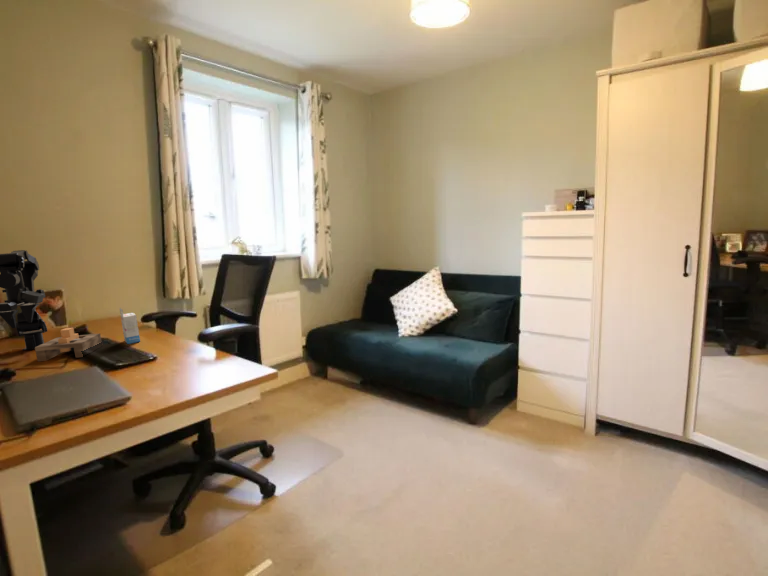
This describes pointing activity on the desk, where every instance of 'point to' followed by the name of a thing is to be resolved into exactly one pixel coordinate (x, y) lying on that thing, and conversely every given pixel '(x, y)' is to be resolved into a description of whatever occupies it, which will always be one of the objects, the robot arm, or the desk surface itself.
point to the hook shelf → (66, 346)
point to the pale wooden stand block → (67, 337)
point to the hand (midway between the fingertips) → (22, 325)
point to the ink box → (130, 327)
